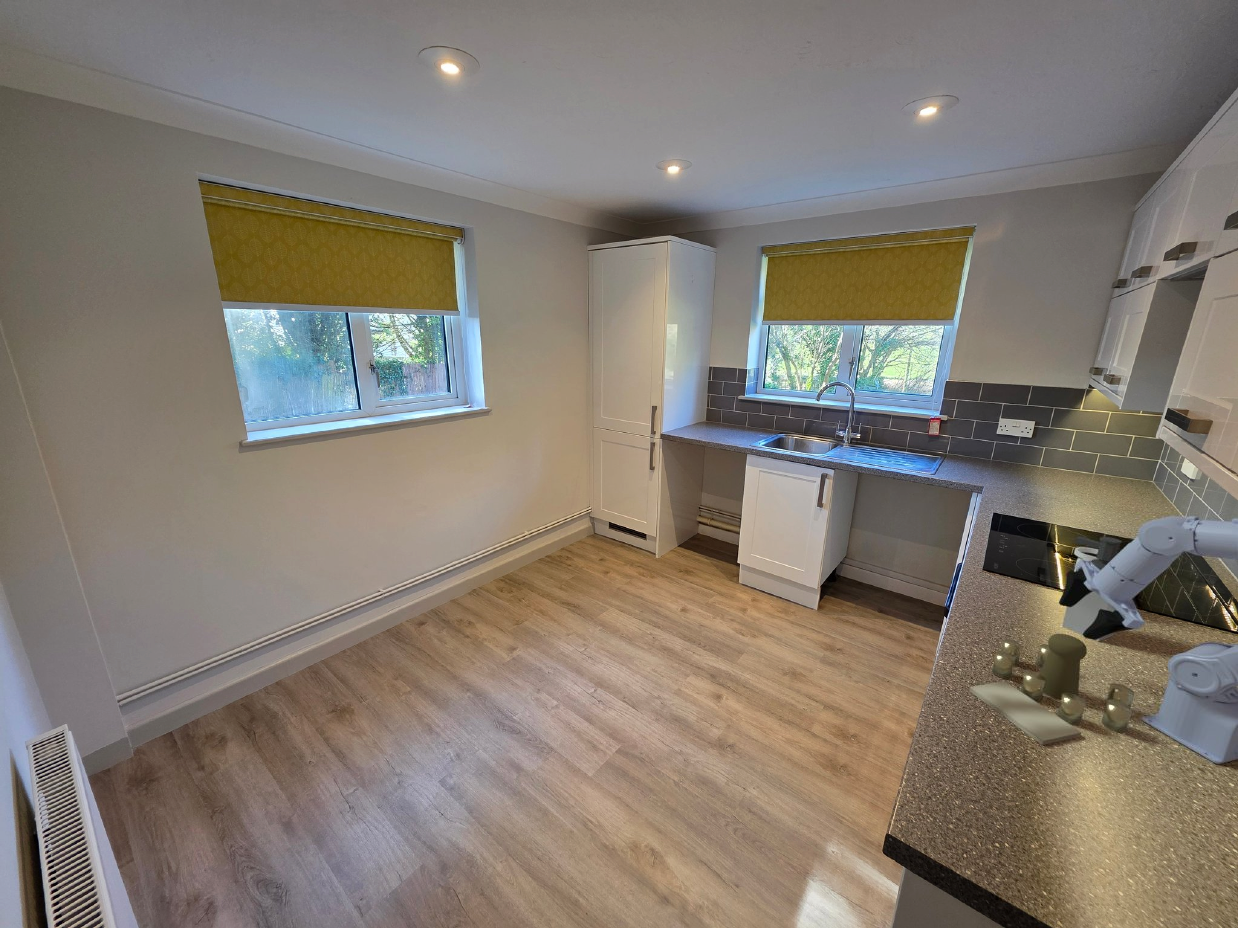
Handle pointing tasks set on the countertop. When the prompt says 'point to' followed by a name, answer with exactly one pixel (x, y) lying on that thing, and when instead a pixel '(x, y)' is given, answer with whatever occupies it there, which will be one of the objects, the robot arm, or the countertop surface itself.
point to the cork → (1063, 665)
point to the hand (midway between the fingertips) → (1076, 620)
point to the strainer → (1084, 556)
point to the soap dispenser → (1090, 605)
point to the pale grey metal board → (1025, 712)
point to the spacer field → (1070, 704)
